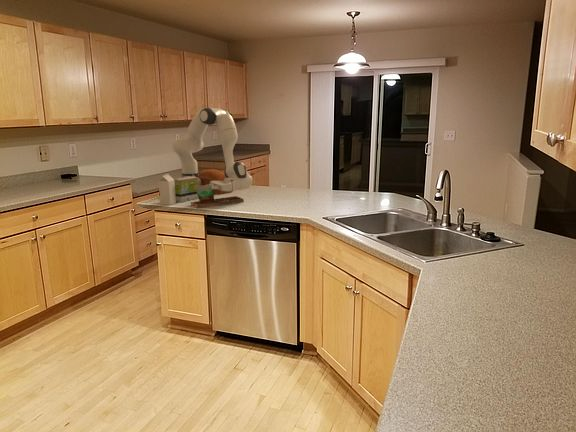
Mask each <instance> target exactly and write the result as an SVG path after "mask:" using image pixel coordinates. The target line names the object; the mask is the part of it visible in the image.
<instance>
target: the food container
mask: <svg viewBox="0 0 576 432" xmlns="http://www.w3.org/2000/svg"><path fill="white" fill-rule="evenodd" d="M211 186H214V184H213V183H212V184H209V185H202V186H198V187H197V186H195V187H194V189H195V190H196V192H197V195H198V198H199V199H198V201H200V202H206V201H210V200H213V199H215V193H214V191H213V189H211Z"/></svg>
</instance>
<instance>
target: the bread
mask: <svg viewBox="0 0 576 432" xmlns="http://www.w3.org/2000/svg"><path fill="white" fill-rule="evenodd" d="M198 173H199V179H200V180H201V185H208V184H210V181H223V180H224V179H225V178H226V177H225V174H224V172H223V171H221V170H220V169H219V170H217V169H215V168H214V169H213V168H210V169H204V170H202V171H198ZM213 191H214V194H216V195H225V194H230V193H232V192H234V191H229V192H227V191H221V190H218V189H213Z"/></svg>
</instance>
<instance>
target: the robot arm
mask: <svg viewBox="0 0 576 432" xmlns="http://www.w3.org/2000/svg"><path fill="white" fill-rule="evenodd" d="M209 126H217V127H218V130H219V131H218V132H219V136H220V140H221V147H222V154H223V161H224V172H223V173H224V174H225V177H226V178H225V179H224V180H223V181H210V184H212V183H213V184H214V186H211V189H218V190H221V191H227V192H229V191H233V192H236V191H241V190H247V189H249V188H251V187H252V186H253V181H254V179H253V177H252V175H250V173H249V172H248V170H247V166H246V164H244V162H242V161H236V162H235V160H234V153H233V151H234V148H235V145H236V143H238V139H239V138H238V136H239V135H238V129H237V125H236V123H235V120H234V119H233V117H232V115H231V114H230V113H229V111H228V110H226V109H224V108H219V107H218V108H217V107H202V108H200V109H198V110H197V112H196V113H195V115H194V116H193V118H192V120H191V122H190V123H189V126H188V127H187V131H188V134H189V135H188V136H187V137H180V138H177V139H176V140H174V141H173V142H172V146H171V148H172V151H173V152H174V153H175V154H176V155H177V156H178V158H179V160H180V164H181V176H180V177H187V176H192V177H198V183H199V186H202V185H201V180H200V179H199V169H198V168H199V167H198V161H197V160H196V159H195V158H194V156H193V153H197V152H199V151H202V150H203V149H204V141H203V137H204V134H205V133H206V131H207V128H208V127H209ZM208 185H209V184H208Z"/></svg>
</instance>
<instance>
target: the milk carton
mask: <svg viewBox="0 0 576 432" xmlns="http://www.w3.org/2000/svg"><path fill="white" fill-rule="evenodd" d="M158 191H159V202H160V205H162V206H172V205H175V204H176V203H177V201H176V195H175V182H174V179H173V177H172V176H171V175H170V173H166V174H163V175H162V176H161V178H159V180H158Z"/></svg>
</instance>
